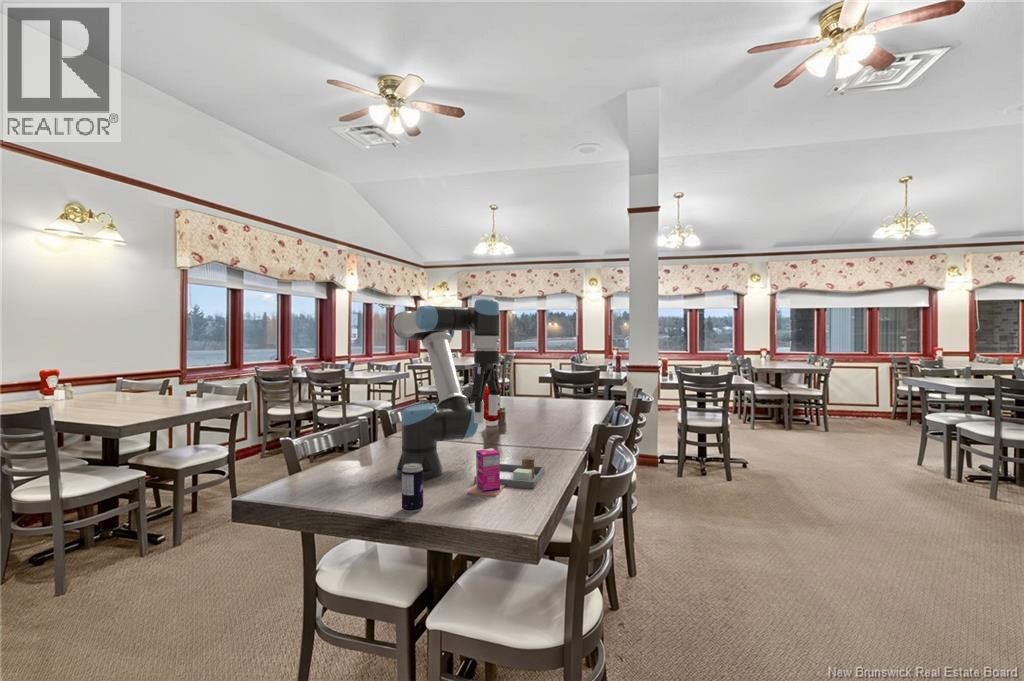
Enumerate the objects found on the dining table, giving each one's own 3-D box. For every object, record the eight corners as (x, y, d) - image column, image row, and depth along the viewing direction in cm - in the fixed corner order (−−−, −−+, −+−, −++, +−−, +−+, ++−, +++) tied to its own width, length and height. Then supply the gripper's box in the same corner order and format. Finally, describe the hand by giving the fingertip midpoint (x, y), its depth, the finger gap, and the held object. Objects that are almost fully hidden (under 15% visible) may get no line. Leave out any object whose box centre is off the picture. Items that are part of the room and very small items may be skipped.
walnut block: (521, 477, 155) (521, 459, 155) (522, 473, 159) (522, 456, 159) (534, 477, 155) (534, 459, 155) (534, 474, 159) (534, 456, 159)
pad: (467, 493, 139) (467, 491, 139) (477, 484, 147) (477, 482, 147) (496, 496, 136) (496, 494, 136) (504, 486, 145) (504, 485, 145)
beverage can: (423, 512, 124) (423, 467, 124) (401, 514, 123) (401, 468, 123) (423, 505, 129) (423, 462, 129) (402, 506, 128) (402, 463, 128)
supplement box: (475, 487, 143) (475, 449, 143) (493, 484, 146) (493, 447, 146) (482, 492, 138) (482, 454, 138) (500, 490, 140) (500, 452, 140)
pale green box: (513, 484, 148) (513, 471, 148) (517, 480, 152) (517, 468, 152) (528, 485, 147) (528, 473, 147) (532, 482, 150) (532, 469, 150)
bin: (474, 483, 148) (474, 477, 148) (490, 468, 165) (490, 463, 165) (534, 488, 144) (534, 482, 144) (544, 472, 160) (544, 466, 160)
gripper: (485, 351, 130) (484, 427, 131) (509, 348, 154) (509, 412, 155) (459, 351, 132) (459, 426, 133) (487, 348, 156) (487, 411, 157)
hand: (486, 419), depth 144 cm, fingers open, 13 cm apart
